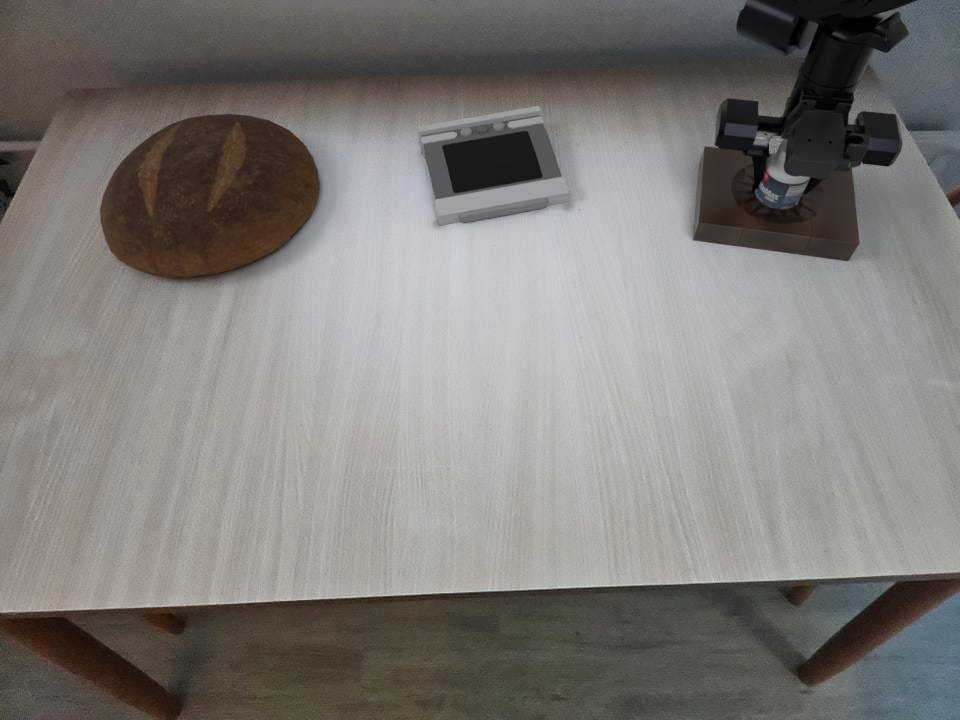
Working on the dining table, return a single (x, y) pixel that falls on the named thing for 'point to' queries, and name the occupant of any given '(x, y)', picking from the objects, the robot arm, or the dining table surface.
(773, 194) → the pill bottle
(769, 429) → the dining table surface
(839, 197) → the socket pad
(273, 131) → the bread
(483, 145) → the grey boxy piece
